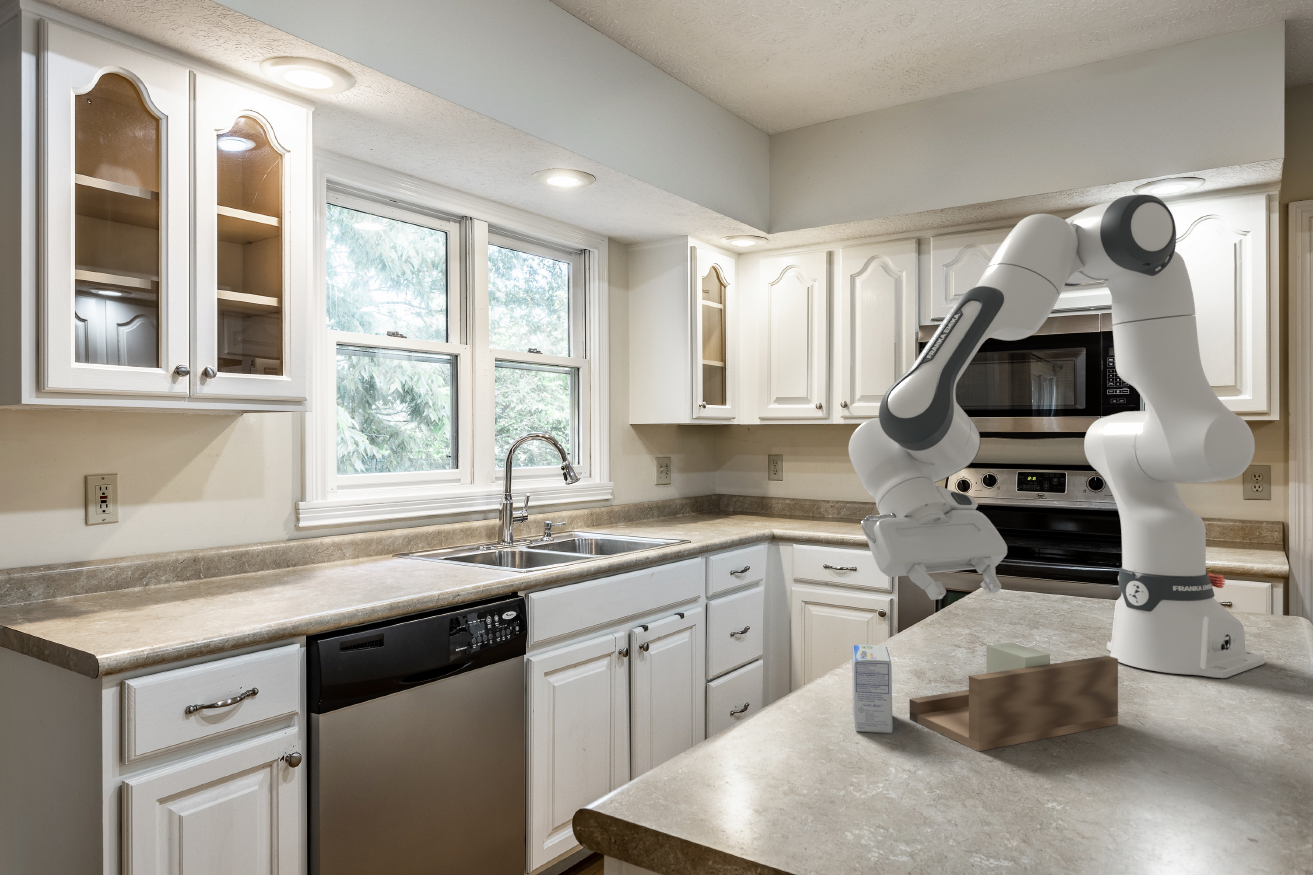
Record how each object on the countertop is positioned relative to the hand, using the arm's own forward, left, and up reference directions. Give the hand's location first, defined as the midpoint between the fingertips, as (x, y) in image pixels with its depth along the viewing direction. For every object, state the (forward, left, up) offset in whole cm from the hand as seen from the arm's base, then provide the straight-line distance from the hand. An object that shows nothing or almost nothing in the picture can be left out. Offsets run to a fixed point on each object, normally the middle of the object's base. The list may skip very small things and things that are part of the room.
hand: (967, 593), depth 109 cm
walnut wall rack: (0, +8, -14) cm, 16 cm away
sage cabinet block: (0, +8, -13) cm, 16 cm away
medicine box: (+16, +1, -15) cm, 22 cm away
